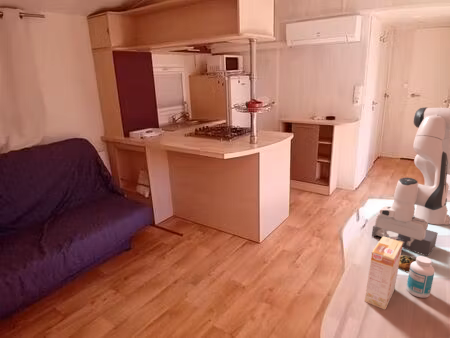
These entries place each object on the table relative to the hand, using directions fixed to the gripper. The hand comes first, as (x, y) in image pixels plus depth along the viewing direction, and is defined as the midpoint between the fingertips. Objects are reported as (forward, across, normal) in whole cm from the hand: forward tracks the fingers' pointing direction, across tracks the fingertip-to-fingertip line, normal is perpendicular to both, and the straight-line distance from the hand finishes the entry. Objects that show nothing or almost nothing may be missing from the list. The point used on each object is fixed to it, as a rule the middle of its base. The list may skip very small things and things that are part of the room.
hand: (397, 241), depth 143 cm
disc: (+1, 0, 0) cm, 1 cm away
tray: (+4, +6, -11) cm, 13 cm away
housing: (+4, -5, -11) cm, 13 cm away
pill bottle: (+4, -16, +28) cm, 32 cm away
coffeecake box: (+5, -7, +40) cm, 41 cm away
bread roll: (+5, -8, +11) cm, 14 cm away
